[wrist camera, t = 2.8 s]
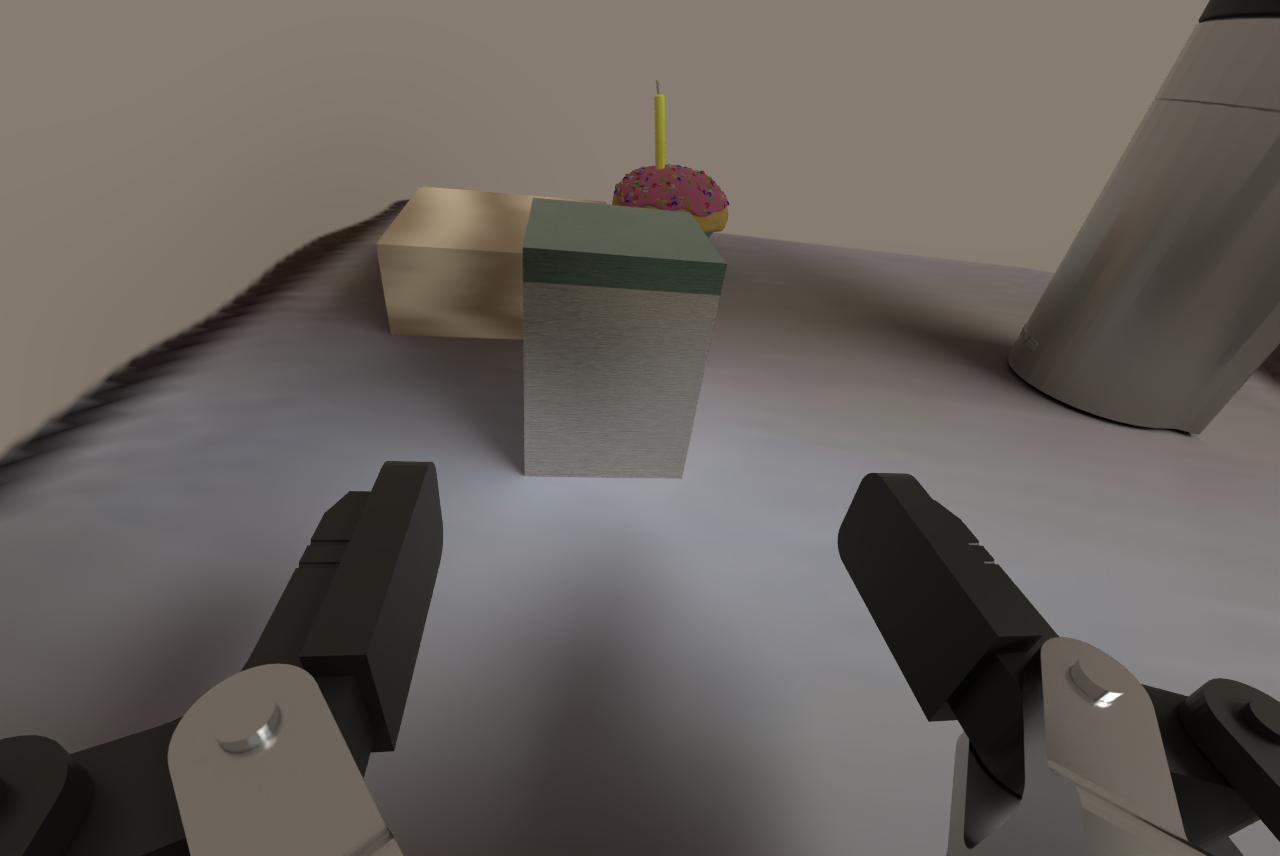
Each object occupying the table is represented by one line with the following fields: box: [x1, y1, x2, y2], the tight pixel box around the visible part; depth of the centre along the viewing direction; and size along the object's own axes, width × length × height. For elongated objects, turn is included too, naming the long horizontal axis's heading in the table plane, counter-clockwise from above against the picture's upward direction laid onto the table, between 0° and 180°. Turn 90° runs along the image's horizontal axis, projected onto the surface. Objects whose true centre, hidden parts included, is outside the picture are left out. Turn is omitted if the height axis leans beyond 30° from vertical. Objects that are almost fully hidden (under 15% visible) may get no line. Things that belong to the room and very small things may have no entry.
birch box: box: [376, 187, 607, 340], centre depth 32 cm, size 12×12×5 cm
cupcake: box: [612, 80, 729, 238], centre depth 39 cm, size 9×8×12 cm
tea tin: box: [523, 198, 727, 479], centre depth 20 cm, size 6×6×8 cm
